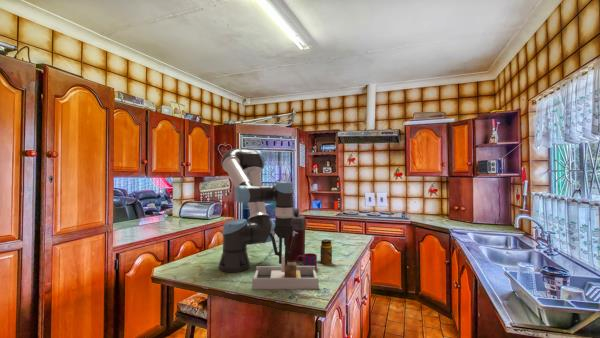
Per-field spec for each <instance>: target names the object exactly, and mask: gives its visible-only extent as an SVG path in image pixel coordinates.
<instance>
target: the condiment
mask: <svg viewBox="0 0 600 338" xmlns="http://www.w3.org/2000/svg"><path fill="white" fill-rule="evenodd" d="M320 241H321V245H320V260H317V266H319V267H320V266H321V267H322V266H334V265H335V263H333V261H332V260H333V246H332V241H331V240H330V239H322V240H320Z"/></svg>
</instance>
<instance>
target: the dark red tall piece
mask: <svg viewBox="0 0 600 338" xmlns="http://www.w3.org/2000/svg"><path fill="white" fill-rule="evenodd" d="M299 212H300V210H299V208H298V207H293V215H292V216H291V217H292V228H293V231H295V232H297V233H298V236H297V238H296V240H295V243H294V247H293V251H292V255H289V256H288V260H287V262H297V257H298V256H299V255H302V256H303V255H304V254H306V253H305V252H306V251H305V250H306V216H305V215H299V214H300V213H299ZM292 238H293V233H292V234H291V235H290V237H289V238H288V252H289V250H290V246H291V242H292ZM283 245H284V246H285V238H283ZM298 262H299V263H301V262H302V263H303V258H302V257H301V256H299V257H298Z"/></svg>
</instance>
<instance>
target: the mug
mask: <svg viewBox="0 0 600 338" xmlns="http://www.w3.org/2000/svg"><path fill="white" fill-rule="evenodd" d="M299 256H301V257H302V258H303V262H302V264H301V263H300V262H298V257H299ZM299 256H298V257H297V261H296V264H297V265H298V266H315V271H316V270H317V269H318V264H317V261H318V260H317V259H318V257H317V256H318V255H317V253H314V252H307V253H305V254H304V255H303V256H302V255H299Z"/></svg>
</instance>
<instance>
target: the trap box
mask: <svg viewBox="0 0 600 338" xmlns="http://www.w3.org/2000/svg"><path fill="white" fill-rule="evenodd" d="M255 268H256V269H255V273H254V276H253V278H252V279H251V281H252V282H251V283H252V284H251V285H252V287H251V289H252V290H287V289H288V290H296V289H297V290H298V289H299V290H301V289H302V290H303V289H304V290H305V289H306V290H308V289H309V290H310V289H319V288H320V287H319V282H320V281H319V279H320V278H319V277H318V276H317V272H316V270H315V266H300V265H296V278H285V272H281V265H264V266H263V265H259V266H256V267H255Z"/></svg>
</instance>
